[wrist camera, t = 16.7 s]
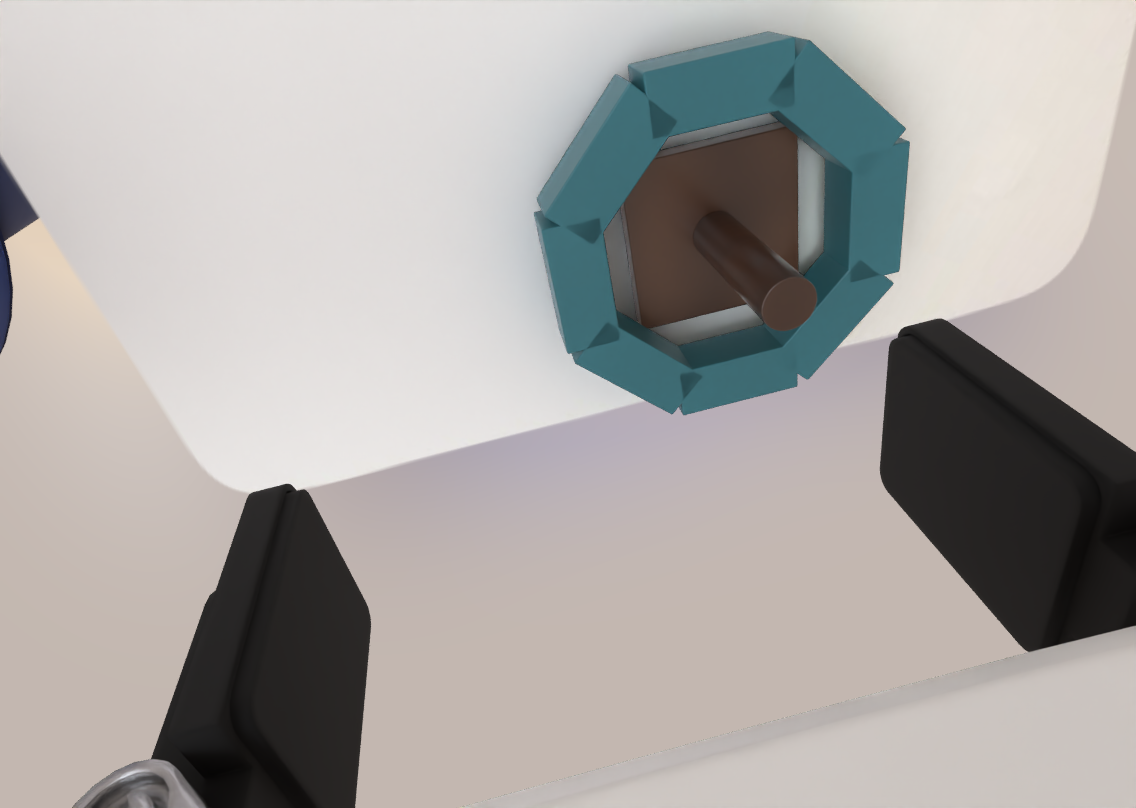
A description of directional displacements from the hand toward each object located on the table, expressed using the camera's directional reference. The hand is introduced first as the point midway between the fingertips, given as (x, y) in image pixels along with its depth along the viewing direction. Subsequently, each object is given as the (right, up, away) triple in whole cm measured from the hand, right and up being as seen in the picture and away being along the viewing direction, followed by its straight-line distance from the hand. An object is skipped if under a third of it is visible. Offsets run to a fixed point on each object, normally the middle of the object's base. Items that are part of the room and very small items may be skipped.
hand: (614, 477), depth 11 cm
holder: (+7, +11, +26) cm, 29 cm away
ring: (+7, +10, +25) cm, 28 cm away
